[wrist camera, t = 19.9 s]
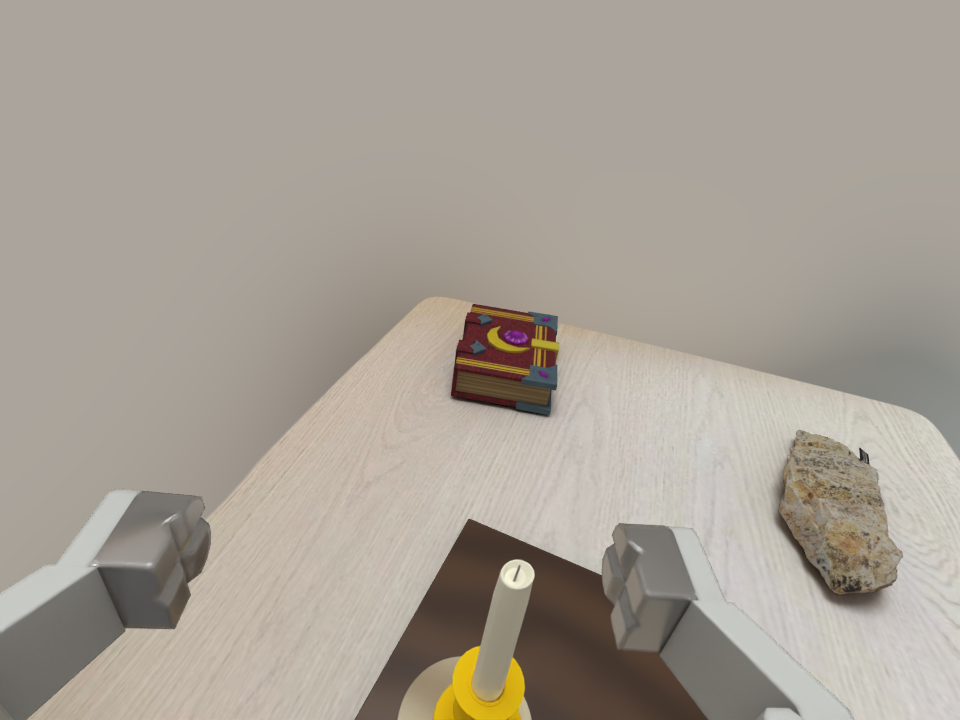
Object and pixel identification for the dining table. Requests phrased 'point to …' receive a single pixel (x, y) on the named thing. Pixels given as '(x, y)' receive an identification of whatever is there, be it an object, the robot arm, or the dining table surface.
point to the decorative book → (507, 358)
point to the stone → (838, 515)
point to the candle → (492, 657)
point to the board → (526, 643)
